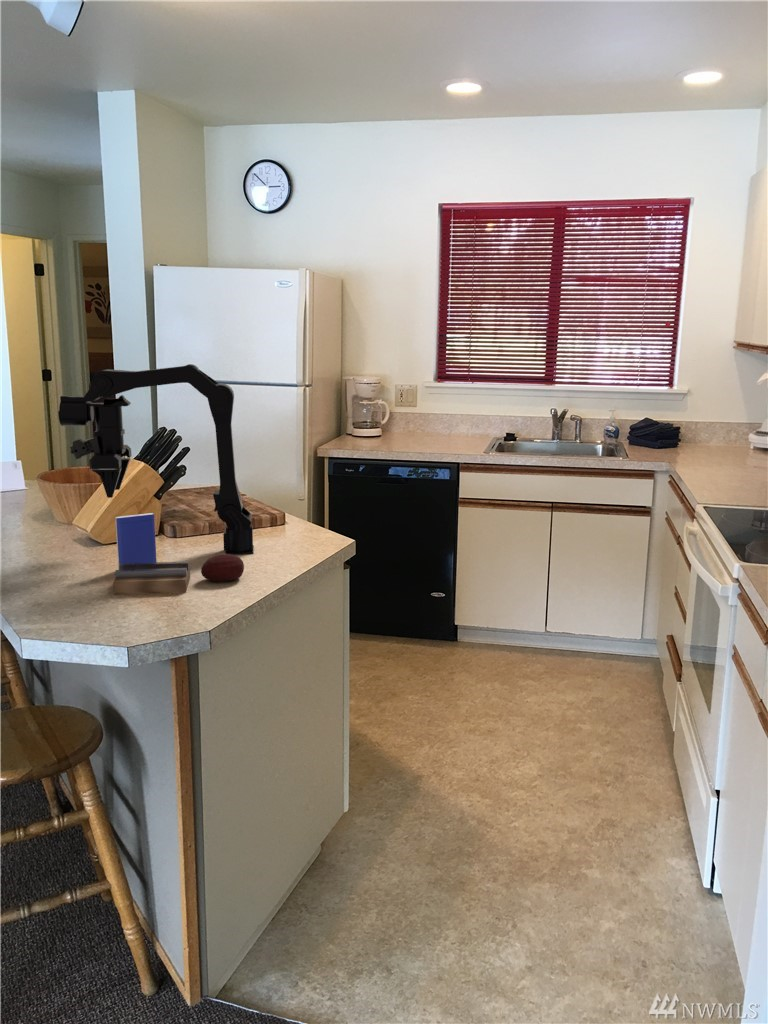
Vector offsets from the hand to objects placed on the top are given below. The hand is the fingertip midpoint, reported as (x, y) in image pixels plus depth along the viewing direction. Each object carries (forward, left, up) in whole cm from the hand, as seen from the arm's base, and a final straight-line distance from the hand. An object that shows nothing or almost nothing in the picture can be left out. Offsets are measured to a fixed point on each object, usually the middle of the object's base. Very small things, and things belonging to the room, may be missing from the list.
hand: (113, 493), depth 184 cm
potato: (-25, +22, -15) cm, 37 cm away
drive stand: (-11, +25, -15) cm, 31 cm away
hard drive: (-6, +12, -15) cm, 20 cm away
